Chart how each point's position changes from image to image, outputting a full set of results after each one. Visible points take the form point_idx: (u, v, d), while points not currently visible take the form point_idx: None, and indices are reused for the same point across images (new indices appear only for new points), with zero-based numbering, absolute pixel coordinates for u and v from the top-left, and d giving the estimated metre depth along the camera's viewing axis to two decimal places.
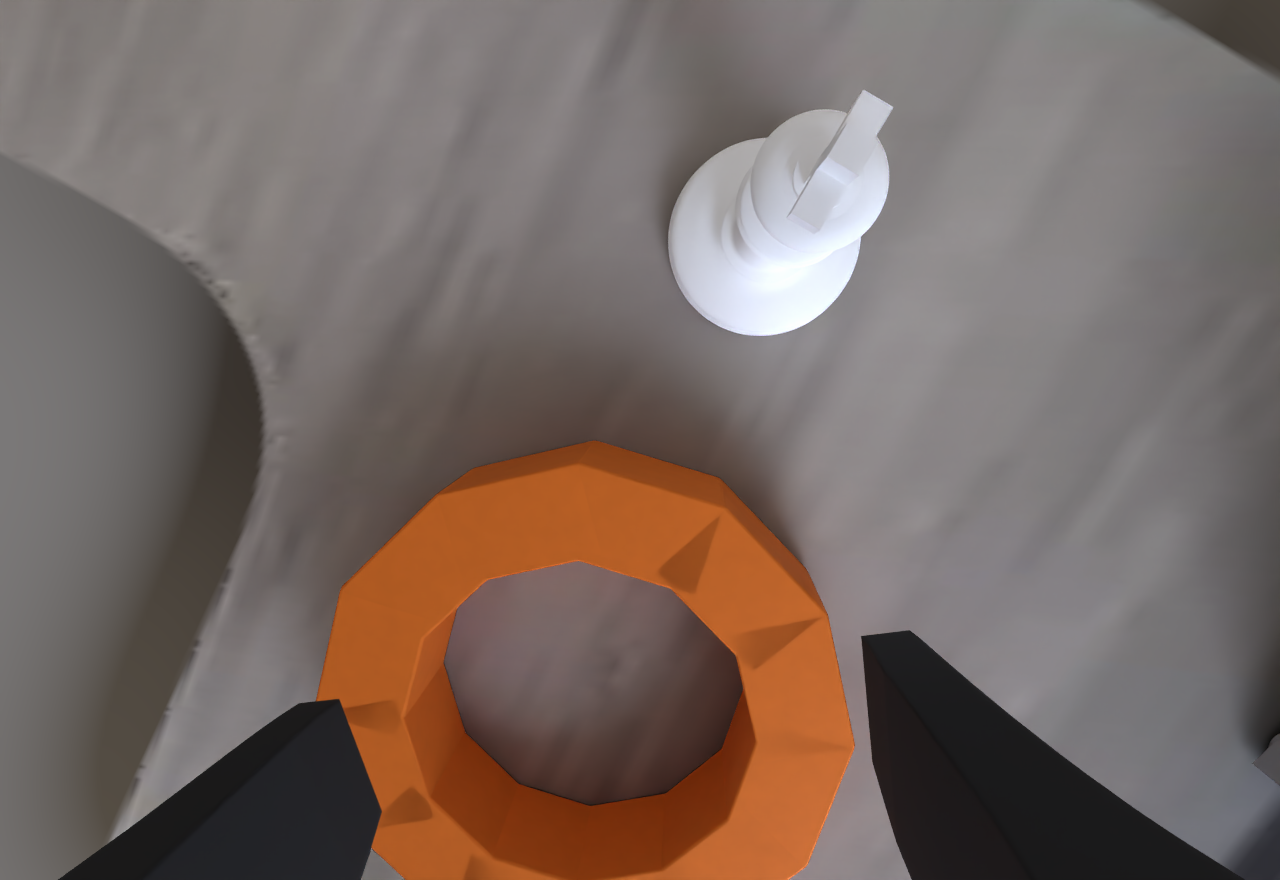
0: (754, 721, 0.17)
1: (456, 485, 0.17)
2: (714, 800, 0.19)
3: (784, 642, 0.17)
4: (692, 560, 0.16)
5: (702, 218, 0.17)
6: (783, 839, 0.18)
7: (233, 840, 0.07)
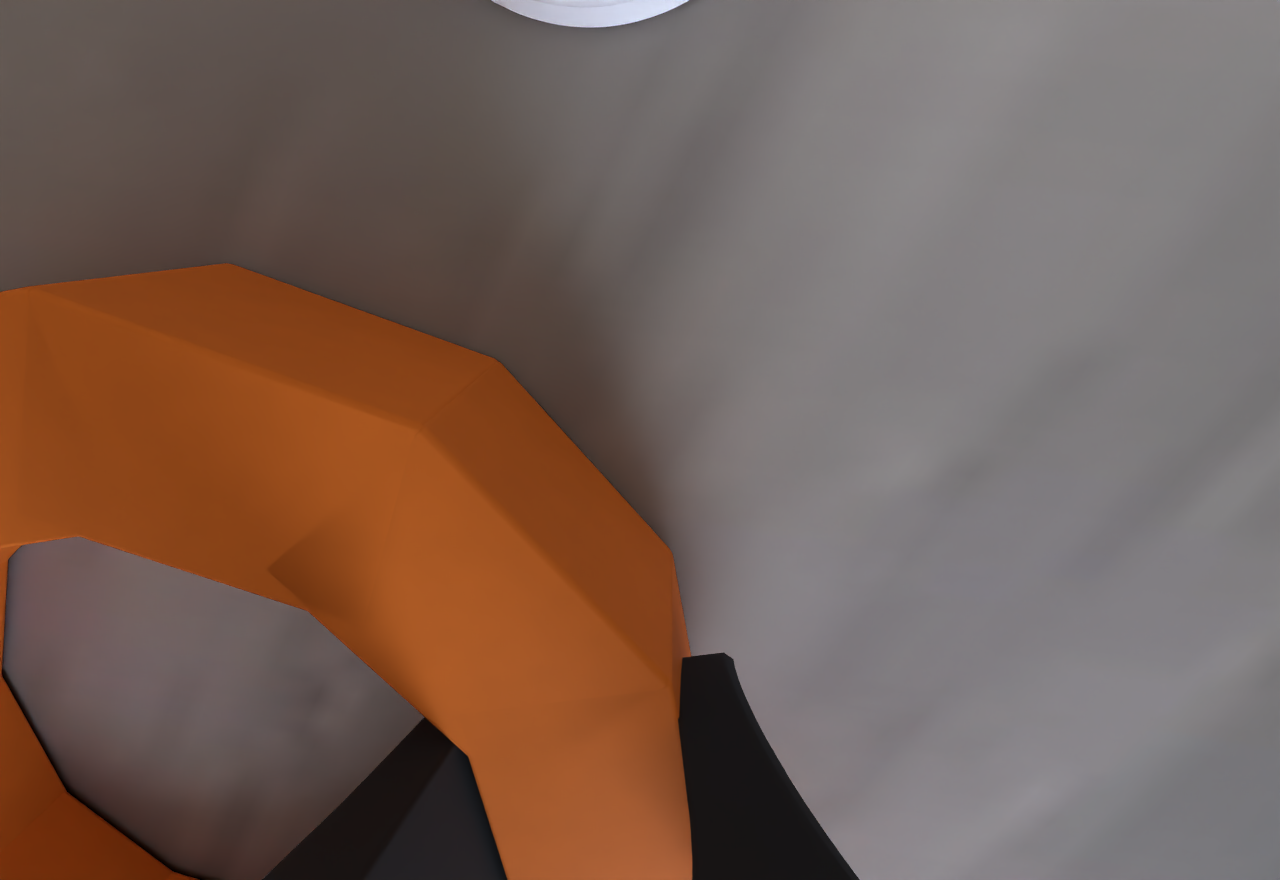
0: (511, 878, 0.08)
1: None
2: None
3: (573, 735, 0.07)
4: (351, 549, 0.07)
5: None
6: None
7: (437, 820, 0.07)
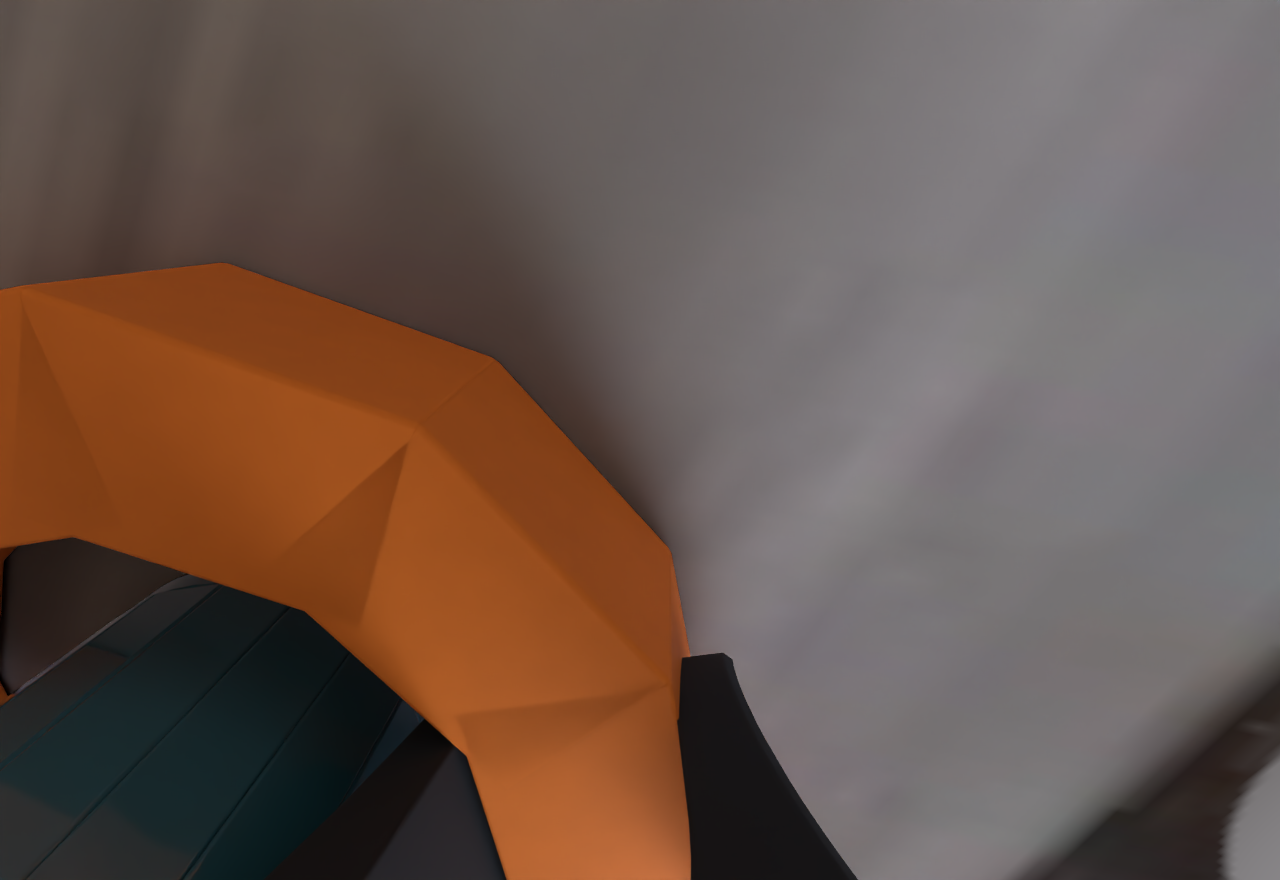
0: (510, 878, 0.08)
1: None
2: None
3: (571, 735, 0.07)
4: (348, 550, 0.07)
5: None
6: None
7: (439, 820, 0.07)
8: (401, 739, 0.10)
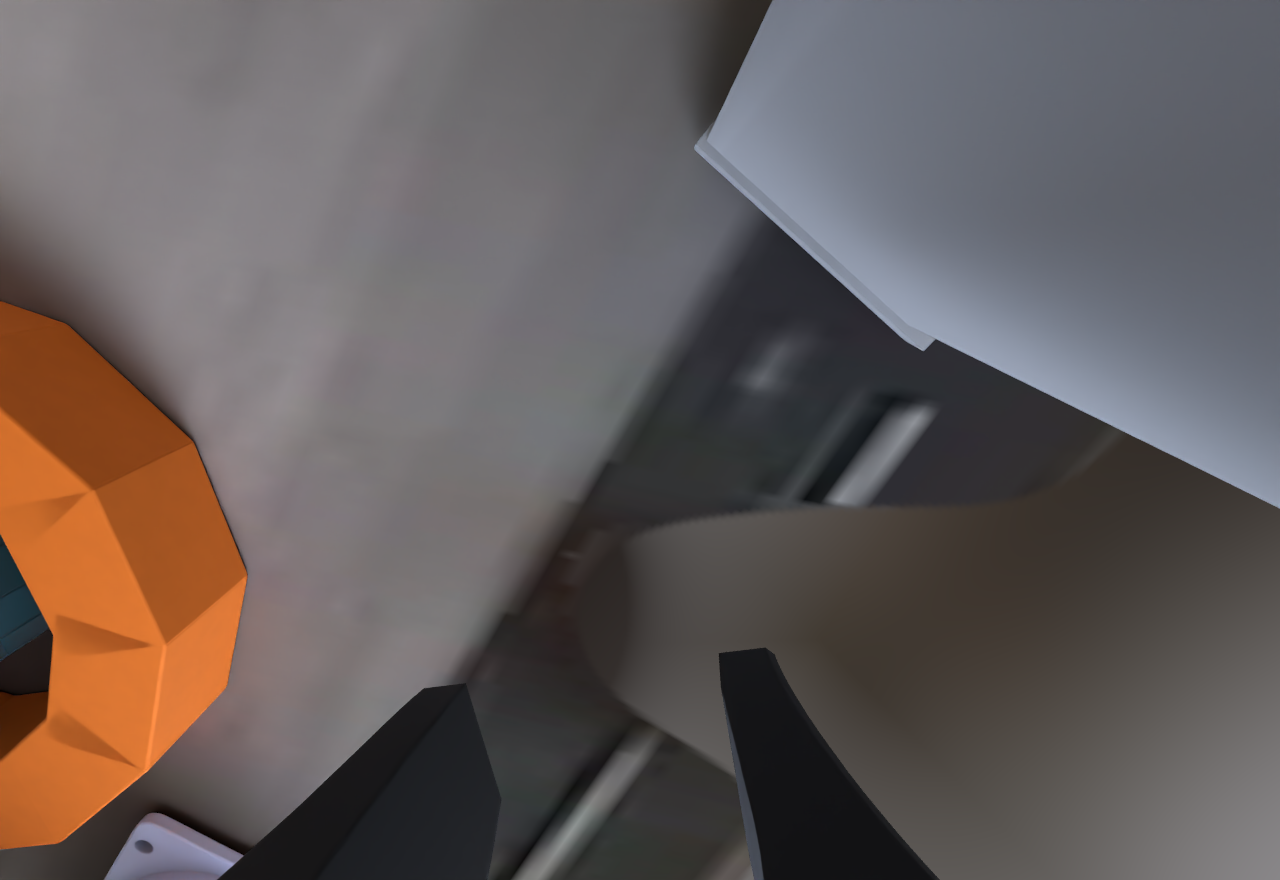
0: (42, 611, 0.14)
1: None
2: None
3: (50, 521, 0.14)
4: None
5: None
6: (118, 741, 0.16)
7: (394, 824, 0.07)
8: None
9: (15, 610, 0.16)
